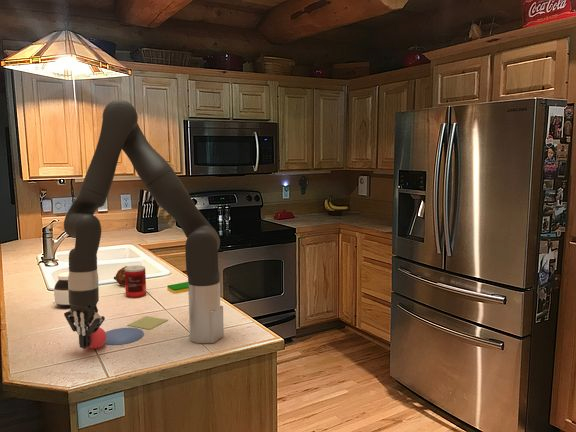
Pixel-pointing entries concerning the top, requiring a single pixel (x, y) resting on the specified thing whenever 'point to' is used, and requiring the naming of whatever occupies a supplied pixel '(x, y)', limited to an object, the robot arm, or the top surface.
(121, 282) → the brown oval piece
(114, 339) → the disc
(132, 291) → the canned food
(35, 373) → the top surface
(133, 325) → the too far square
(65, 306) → the spread jar
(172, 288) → the dish sponge
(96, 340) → the ball
